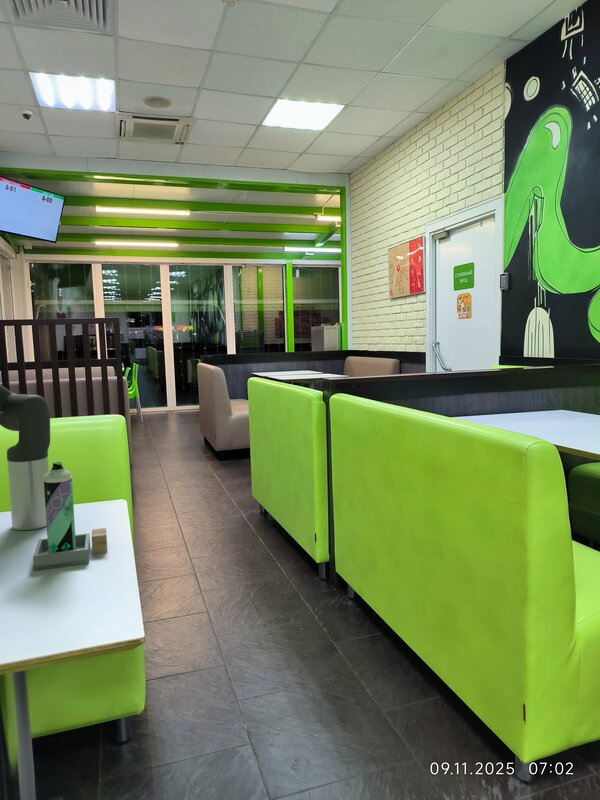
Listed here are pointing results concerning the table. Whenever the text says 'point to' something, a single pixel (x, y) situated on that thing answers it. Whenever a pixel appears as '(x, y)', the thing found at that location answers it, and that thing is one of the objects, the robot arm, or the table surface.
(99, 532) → the chock block
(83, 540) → the tray
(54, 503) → the spray can
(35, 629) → the table surface
